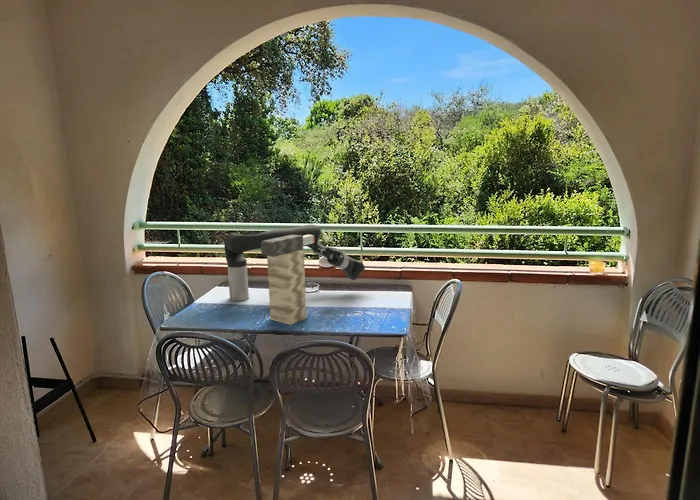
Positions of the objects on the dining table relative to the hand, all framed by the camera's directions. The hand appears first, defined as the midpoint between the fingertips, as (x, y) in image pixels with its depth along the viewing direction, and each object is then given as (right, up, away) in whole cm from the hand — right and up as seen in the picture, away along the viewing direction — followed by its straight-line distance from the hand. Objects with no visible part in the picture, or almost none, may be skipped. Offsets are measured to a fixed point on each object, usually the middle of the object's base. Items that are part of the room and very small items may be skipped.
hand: (319, 248), depth 210 cm
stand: (-14, -31, -13) cm, 37 cm away
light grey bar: (-10, 0, -14) cm, 18 cm away
